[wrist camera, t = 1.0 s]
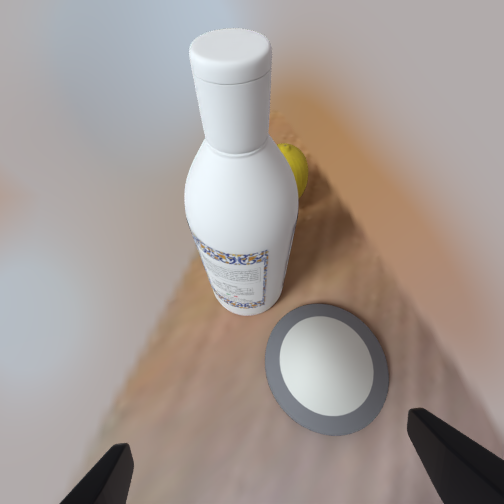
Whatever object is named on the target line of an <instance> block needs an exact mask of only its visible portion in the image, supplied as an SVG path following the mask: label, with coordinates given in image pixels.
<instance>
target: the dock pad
mask: <svg viewBox="0 0 504 504" xmlns="http://www.w3.org/2000/svg"><path fill="white" fill-rule="evenodd" d="M265 370H266V376H267V380H268V384H269V386H270V389H271V391H272V394H273V395H274V397H275V399H276V401H277V402H278V404H279V405H280V407H281V408H282V409H283V410H284V411H285V412H286V414H287V415H288V416H290V417H291V418H292V419H293V420H294V421H295V422H297V423H298V424H300V425H301V426H303V427H305V428H307V429H309V430H311V431H314V432H317V433H320V434H325V435H331V436H341V435H347V434H351V433H354V432H357V431H359V430H361V429H363V428H364V427H366V426H367V425H368V424H370V423H371V422H372V421H373V420H374V419H375V418H376V416H377V415H378V414H379V412H380V411H381V409H382V407H383V405H384V402H385V400H386V396H387V393H388V385H389V373H388V366H387V362H386V358H385V355H384V352H383V350H382V347H381V345H380V344H379V342H378V340H377V338H376V337H375V335H374V334H373V333H372V331H371V330H370V329H369V328H368V327H367V326H366V325H365V324H364V323H363V322H362V321H361V320H360V319H358V318H357V317H356V316H354V315H353V314H351V313H350V312H348V311H346V310H344V309H341V308H339V307H336V306H332V305H327V304H309V305H305V306H301V307H298V308H296V309H294V310H292V311H291V312H289V313H287V314H286V315H285V316H284V317H283V318H282V319H281V320H280V321H279V322H278V323H277V324H276V326H275V327H274V329H273V331H272V333H271V335H270V337H269V340H268V343H267V347H266V354H265Z"/></svg>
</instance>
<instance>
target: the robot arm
mask: <svg viewBox="0 0 504 504" xmlns="http://www.w3.org/2000/svg"><path fill="white" fill-rule="evenodd" d="M407 432H408V435H409V437H410V439H411V441H412V443H413V445H414V447H415V449H416V451H417V453H418V455H419V457H420V459H421V461H422V463H423V465H424V467H425V469H426V471H427V473H428V475H429V477H430V479H431V481H432V483H433V485H434V487H435V489H436V491H437V493H438V494H439V496H440V498H441V500H442V501H443V503H444V504H504V460H502V459H501V458H499V457H498V456H496V455H495V454H493V453H492V452H490V451H489V450H487V449H486V448H484V447H482V446H481V445H479V444H478V443H476V442H475V441H473V440H472V439H470V438H469V437H467V436H466V435H464V434H463V433H461V432H459V431H458V430H456V429H455V428H453V427H452V426H450V425H449V424H447V423H446V422H444V421H443V420H441V419H440V418H438V417H436V416H435V415H433V414H432V413H430V412H429V411H427V410H426V409H424V408H413V409H410V410H409V412H408V422H407ZM133 469H134V461H133V457H132V454H131V450H130V446H129V444H128V443H120V444H115V445H113V446H112V447H111V448H110V449H109V450H108V451H107V452H106V454H105V455H104V456H103V457H102V458H101V459H100V460H99V461H98V462H97V463H96V464H95V466H94V467H93V468H92V469H91V470H90V471H89V472H88V473H87V474H86V475H85V476H84V477H83V479H82V480H81V481H80V482H79V483H78V484H77V485H76V486H75V487H74V488H73V489H72V491H71V492H70V493H69V494H68V495H67V496H66V497H65V498H64V499H63V500H62V501H61V503H60V504H126V500H127V496H128V491H129V487H130V483H131V479H132V474H133Z"/></svg>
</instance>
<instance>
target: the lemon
mask: <svg viewBox="0 0 504 504" xmlns="http://www.w3.org/2000/svg"><path fill="white" fill-rule="evenodd" d="M277 146H278V148H279V149H280V151H281V152H282V153H283V155H284V157H285V158H286V160H287V162H288V163H289V165H290V167H291V169H292V172H293V174H294V177H295V181H296V184H297V190H298V199H299V198H300V197H301V196H302V194H303V192H304V190H305V188H306V185H307V181H308V165H307V161H306V158H305V156H304V154H303V153H302V152H301V150H299V149H298V148H297V147H295V146H293V145H291V144H277Z"/></svg>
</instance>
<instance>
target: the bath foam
mask: <svg viewBox="0 0 504 504" xmlns="http://www.w3.org/2000/svg"><path fill="white" fill-rule="evenodd" d="M189 56H190V62H191V67H192V73H193V77H194V83H195V89H196V94H197V99H198V104H199V109H200V114H201V119H202V124H203V129H204V133H205V139H204V141H203V143H202V145H201V147H200V149H199V151H198V153H197V155H196V156H195V158H194V161H193V163H192V165H191V168H190V170H189V173H188V176H187V180H186V185H185V197H184V200H185V211H186V216H187V222H188V225H189V227H190V230H191V233H192V235H193V238H194V241H195V243H196V246H197V249H198V251H199V254H200V257H201V259H202V262H203V265H204V267H205V270H206V273H207V276H208V278H209V281H210V284H211V286H212V288H213V291H214V294H215V296H216V298H217V299H218V301H219V302H220V303H221V304H222V305H223V306H224V307H225V308H226V309H227V310H229V311H231V312H233V313H235V314H239V315H245V316H249V315H256V314H260V313H262V312H264V311H266V310H268V309H269V308H270V307H272V306H273V305H274V304H275V303H276V301H277V300H278V298H279V296H280V294H281V292H282V288H283V283H284V279H285V275H286V270H287V265H288V260H289V256H290V251H291V246H292V241H293V236H294V232H295V227H296V222H297V217H298V190H297V184H296V181H295V177H294V174H293V172H292V169H291V167H290V165H289V163H288V162H287V160H286V158H285V157H284V155H283V153H282V152H281V151H280V149H279V148H278V146H277V145H276V144H275V142H274V141H273V139H272V138H271V137H270V135H269V134H268V129H269V113H270V88H271V63H272V48H271V44H270V42H269V40H268V39H267V38H266V37H265V36H264V35H262V34H260V33H258V32H255V31H252V30H248V29H239V28H227V29H219V30H214V31H210V32H208V33H205V34H203V35H201V36H199V37H197V38H196V39H195V40H194V41H193V42H192V43H191V45H190V49H189Z"/></svg>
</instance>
